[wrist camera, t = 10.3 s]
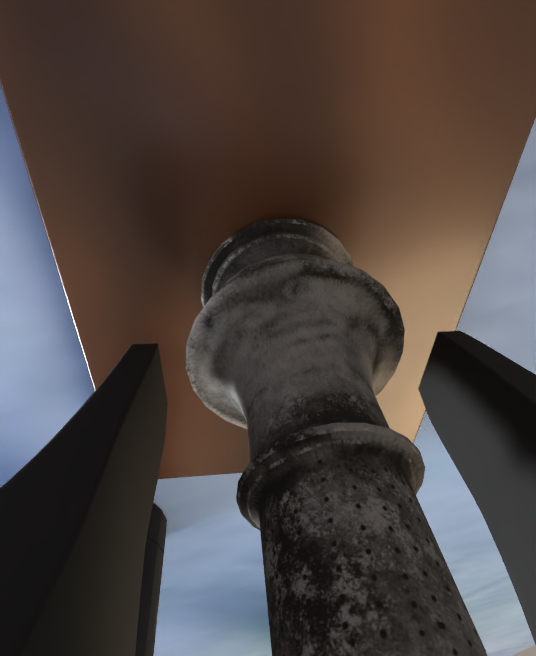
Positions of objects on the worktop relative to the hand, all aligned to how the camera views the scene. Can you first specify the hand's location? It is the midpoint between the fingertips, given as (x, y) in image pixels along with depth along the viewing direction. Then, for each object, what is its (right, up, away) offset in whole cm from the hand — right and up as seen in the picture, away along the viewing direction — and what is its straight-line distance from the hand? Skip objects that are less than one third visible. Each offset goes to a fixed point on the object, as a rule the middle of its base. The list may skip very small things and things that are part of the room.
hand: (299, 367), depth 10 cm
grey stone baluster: (0, +2, +3) cm, 4 cm away
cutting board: (-1, +3, +4) cm, 5 cm away
